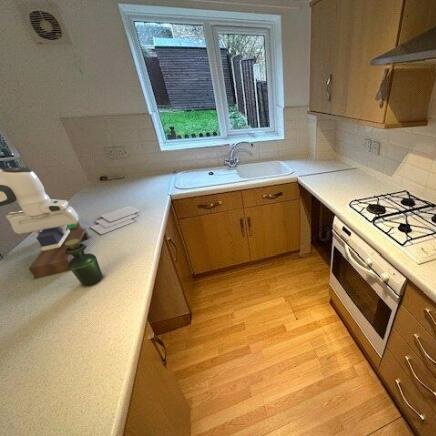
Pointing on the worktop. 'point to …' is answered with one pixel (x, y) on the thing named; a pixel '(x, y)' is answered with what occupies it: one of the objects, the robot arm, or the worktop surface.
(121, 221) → the paper stack
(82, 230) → the wooden serving board
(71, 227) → the food container
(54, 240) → the navy stepped box
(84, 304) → the worktop surface
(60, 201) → the robot arm
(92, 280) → the potion bottle
